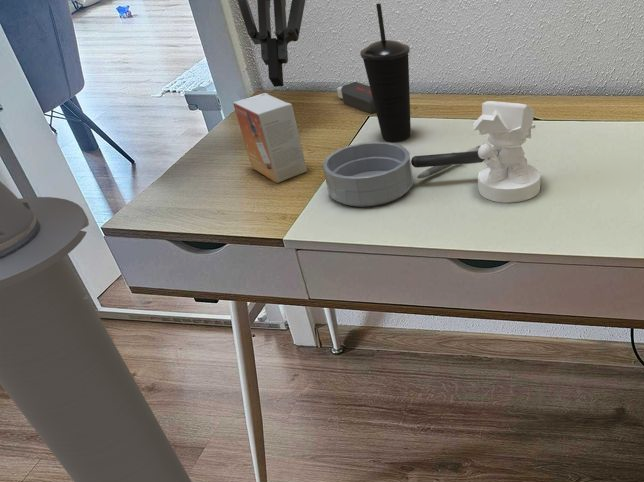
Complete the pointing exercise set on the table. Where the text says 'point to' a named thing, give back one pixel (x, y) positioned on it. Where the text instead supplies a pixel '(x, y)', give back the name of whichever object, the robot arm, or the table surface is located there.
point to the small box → (271, 136)
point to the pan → (368, 173)
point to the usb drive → (357, 96)
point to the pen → (439, 167)
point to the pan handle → (446, 159)
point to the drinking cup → (389, 84)
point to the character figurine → (506, 153)
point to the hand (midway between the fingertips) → (276, 82)
